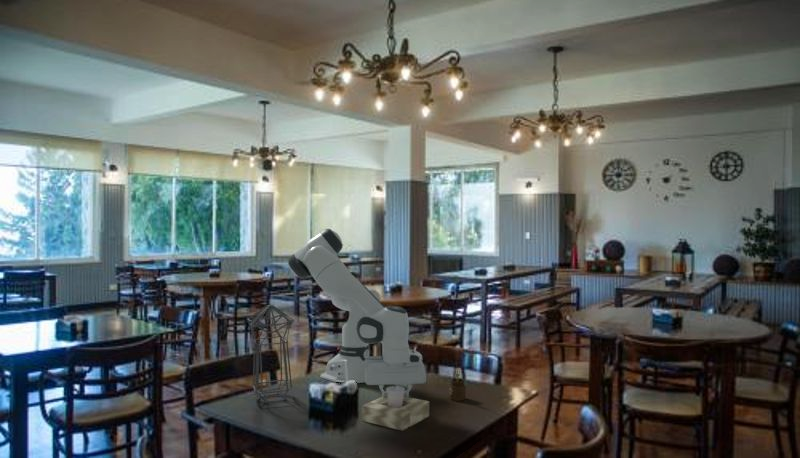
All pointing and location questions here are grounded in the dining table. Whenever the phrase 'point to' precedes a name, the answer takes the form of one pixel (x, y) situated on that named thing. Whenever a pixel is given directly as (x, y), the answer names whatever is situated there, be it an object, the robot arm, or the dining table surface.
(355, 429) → the dining table surface
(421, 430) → the dining table surface
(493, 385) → the dining table surface
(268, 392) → the geometric lantern
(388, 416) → the socket block
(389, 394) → the smoothie
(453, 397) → the brown bottle
